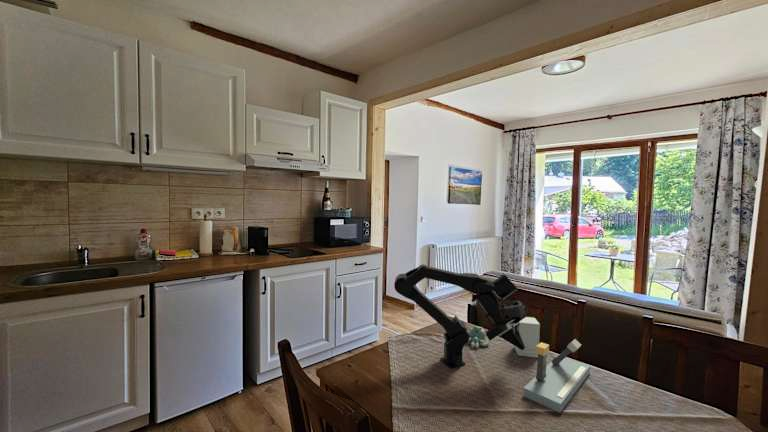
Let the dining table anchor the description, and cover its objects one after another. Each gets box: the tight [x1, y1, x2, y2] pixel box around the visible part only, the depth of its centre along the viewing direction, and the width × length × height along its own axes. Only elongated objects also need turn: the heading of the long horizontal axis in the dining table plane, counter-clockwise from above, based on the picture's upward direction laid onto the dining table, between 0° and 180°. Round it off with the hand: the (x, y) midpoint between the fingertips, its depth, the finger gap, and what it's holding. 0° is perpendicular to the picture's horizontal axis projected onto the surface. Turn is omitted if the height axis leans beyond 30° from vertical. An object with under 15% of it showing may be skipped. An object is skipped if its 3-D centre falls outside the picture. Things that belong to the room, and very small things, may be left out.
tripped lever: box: [535, 341, 550, 382], centre depth 98 cm, size 2×4×11 cm, turn 134°
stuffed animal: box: [466, 325, 491, 349], centre depth 128 cm, size 11×7×12 cm
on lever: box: [551, 338, 582, 366], centre depth 106 cm, size 2×4×11 cm
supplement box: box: [513, 316, 541, 359], centre depth 122 cm, size 7×7×13 cm
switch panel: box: [522, 354, 591, 413], centre depth 101 cm, size 10×30×3 cm, turn 134°
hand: (523, 349), depth 102 cm, fingers closed
